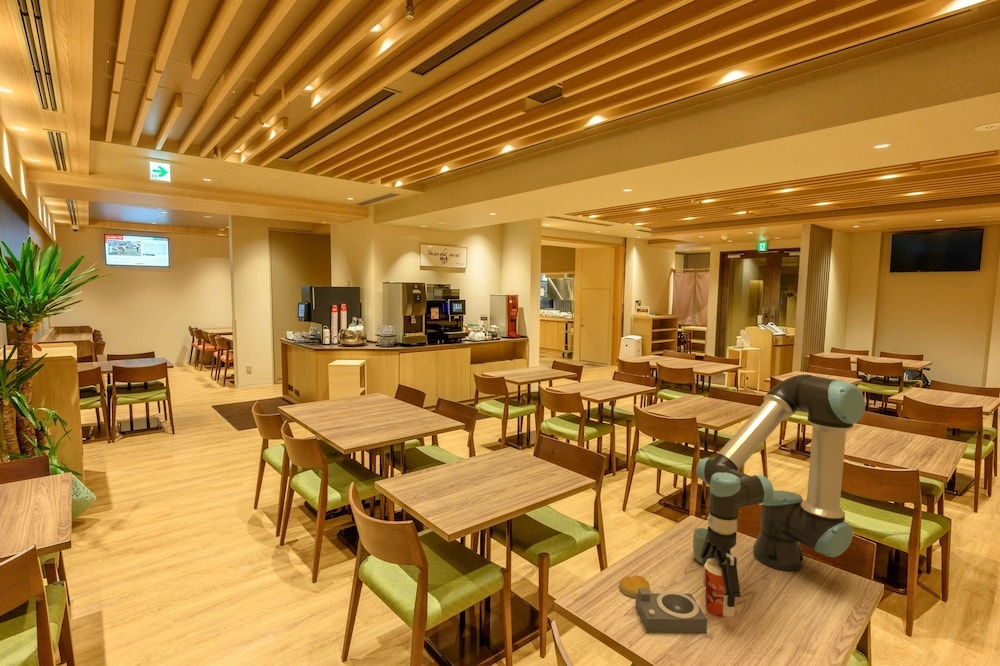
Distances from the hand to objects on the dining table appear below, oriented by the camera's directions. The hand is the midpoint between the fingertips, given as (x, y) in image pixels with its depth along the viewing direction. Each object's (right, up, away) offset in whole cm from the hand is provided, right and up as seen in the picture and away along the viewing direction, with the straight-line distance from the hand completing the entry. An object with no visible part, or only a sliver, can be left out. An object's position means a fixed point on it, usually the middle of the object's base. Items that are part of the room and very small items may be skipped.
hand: (717, 600), depth 142 cm
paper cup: (0, -3, 0) cm, 3 cm away
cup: (+7, -1, +25) cm, 26 cm away
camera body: (-15, -3, -4) cm, 16 cm away
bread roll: (-21, -2, +9) cm, 23 cm away
